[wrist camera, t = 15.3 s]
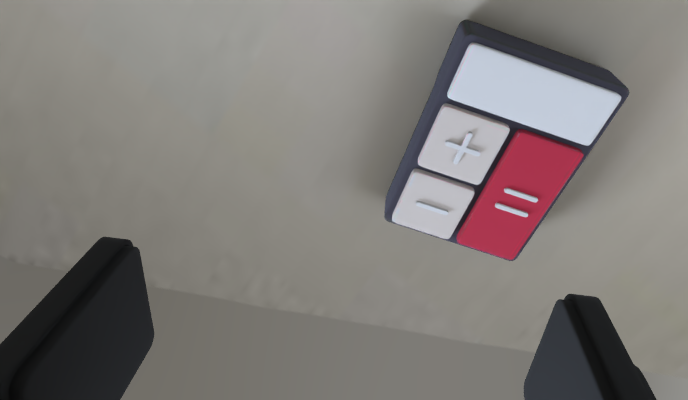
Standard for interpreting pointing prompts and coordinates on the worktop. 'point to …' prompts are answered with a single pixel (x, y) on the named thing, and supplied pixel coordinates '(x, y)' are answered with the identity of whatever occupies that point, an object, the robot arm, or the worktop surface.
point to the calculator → (499, 140)
